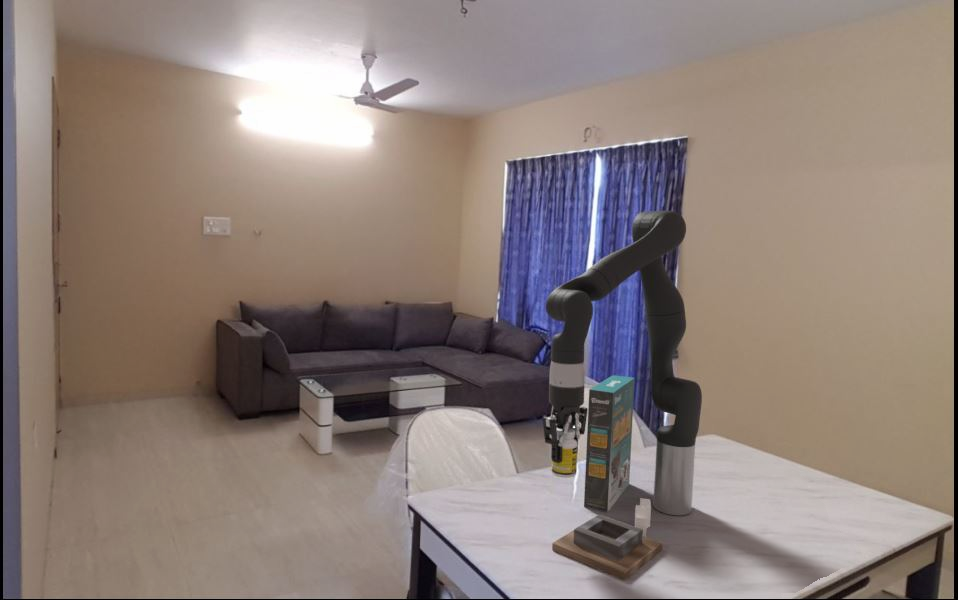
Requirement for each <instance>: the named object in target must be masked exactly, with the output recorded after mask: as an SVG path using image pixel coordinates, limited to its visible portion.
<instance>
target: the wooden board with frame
mask: <svg viewBox="0 0 958 600" xmlns="http://www.w3.org/2000/svg"><path fill="white" fill-rule="evenodd" d="M551 545H552V547H551V548H552V551H554V552H557V553H559V554H561V555H564V556H566V557H568V558H571V559H573V560H576V561H578V562H581V563H583V564H586V565H587V566H590V567H593V568H595V569H596V570H599V571H602V572H604V573H607V574H609V575H612V576H614V577H616V578H618V579H621V580H623V581H626V580H627V579H628V578H630V577H631V576H632V575H634V573H636V572H637V571H638V570H640V568H642V567H643V566H645V564H646V563H648V562H649V561H651V560H652V559H653V558H654V557H655V556H657V555H658V554H659V553H660V552H661V551H663V546H664V545H663V542H661V541H658V540H655V539H653V538H650V537H647V536H646V537H644V536H643V529H640V528H637V527H635V525H631V524H628V523H625V522H623V521H619V520H617V519H613V518H611V517H608V516H606V515H602V514H597V515H595V516H594V517H592V518H591V519H588V520H587V521H586V522H583V524H581V525H579V526H577V527H576V528H574V529H573V530H572V531H570V532H568V533H567V534H565V535H563V536H562V537H560V538H559V539H556V540H555V541H554V542H552V543H551Z"/></svg>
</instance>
